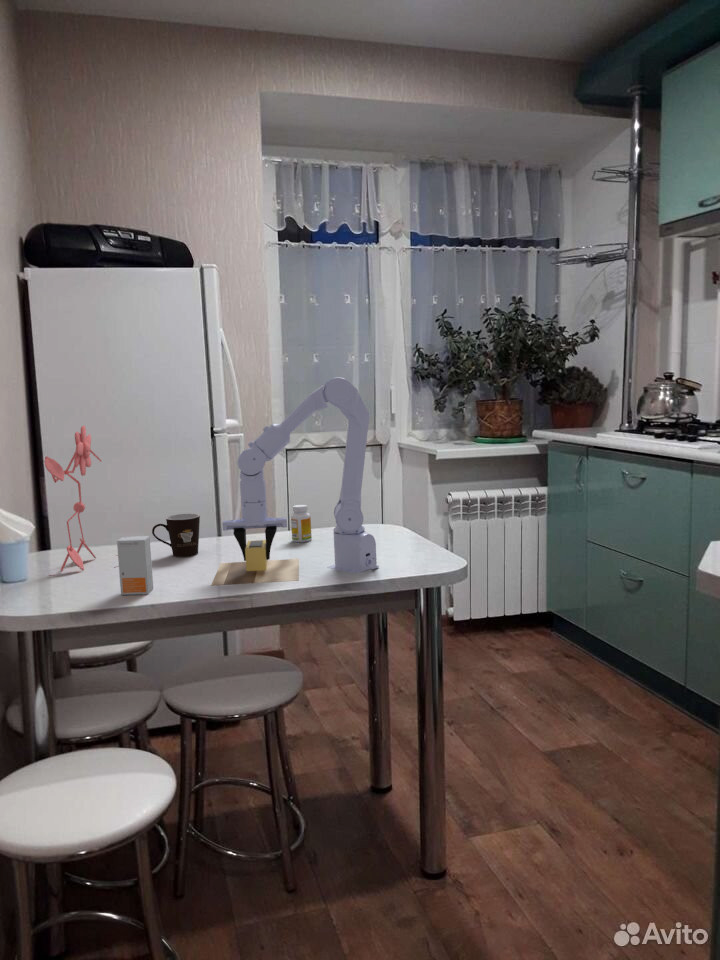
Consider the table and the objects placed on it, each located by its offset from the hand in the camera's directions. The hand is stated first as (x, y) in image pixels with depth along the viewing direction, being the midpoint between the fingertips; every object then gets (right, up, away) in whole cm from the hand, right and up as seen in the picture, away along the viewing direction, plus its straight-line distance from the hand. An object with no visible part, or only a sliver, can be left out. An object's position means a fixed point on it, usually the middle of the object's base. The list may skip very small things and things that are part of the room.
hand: (257, 559), depth 174 cm
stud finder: (0, -2, 0) cm, 2 cm away
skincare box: (-24, -6, -11) cm, 27 cm away
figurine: (-43, -3, +16) cm, 46 cm away
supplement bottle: (+8, +1, +35) cm, 36 cm away
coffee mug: (-23, -1, +23) cm, 33 cm away
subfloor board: (0, -3, 0) cm, 3 cm away
